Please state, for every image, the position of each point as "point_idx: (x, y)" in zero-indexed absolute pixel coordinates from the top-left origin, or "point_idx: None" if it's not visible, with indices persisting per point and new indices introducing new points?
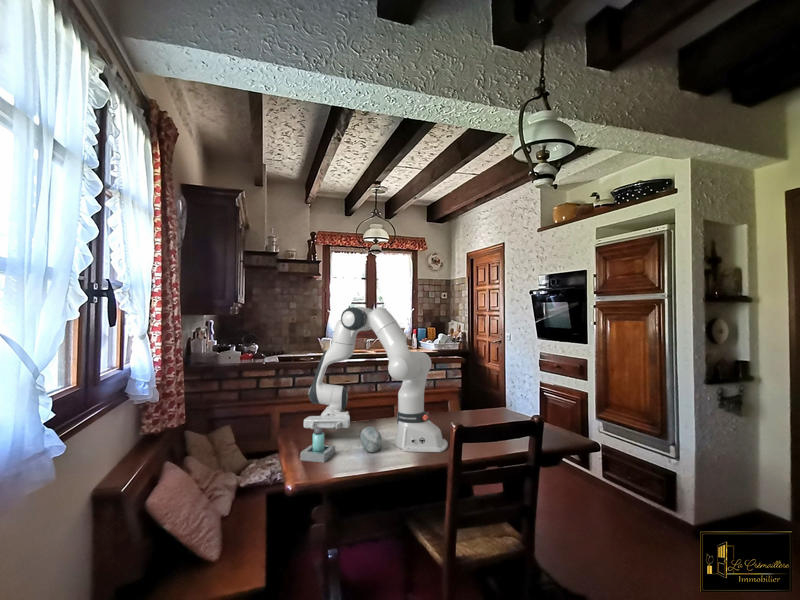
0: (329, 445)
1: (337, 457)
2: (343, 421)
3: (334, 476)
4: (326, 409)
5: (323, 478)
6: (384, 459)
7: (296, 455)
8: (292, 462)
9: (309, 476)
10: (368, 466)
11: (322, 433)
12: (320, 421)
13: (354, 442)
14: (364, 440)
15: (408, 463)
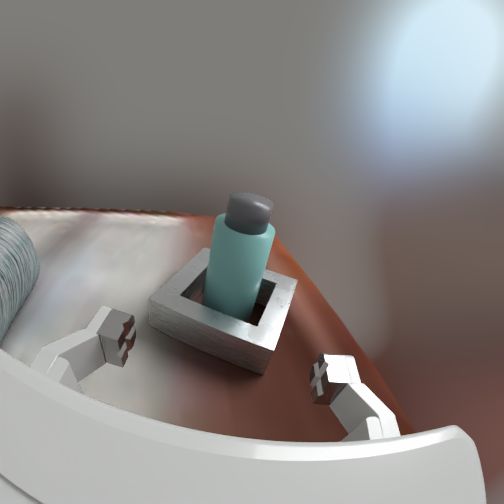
0: (177, 310)
1: (149, 291)
2: (7, 356)
3: (179, 219)
4: None
5: (203, 220)
6: None
7: (321, 343)
8: (308, 296)
9: None
10: (87, 228)
11: (224, 219)
12: (298, 443)
13: None
14: (33, 245)
15: None
